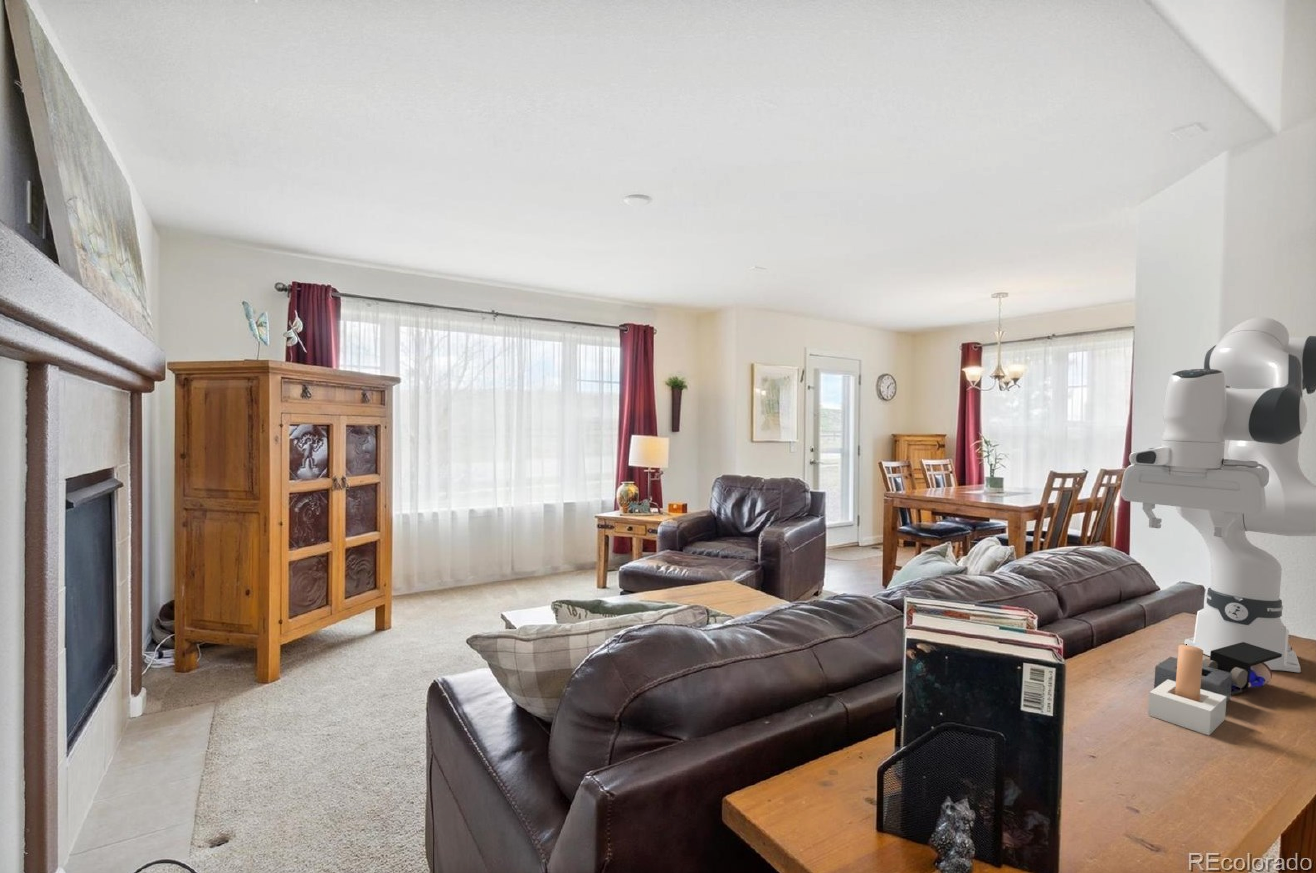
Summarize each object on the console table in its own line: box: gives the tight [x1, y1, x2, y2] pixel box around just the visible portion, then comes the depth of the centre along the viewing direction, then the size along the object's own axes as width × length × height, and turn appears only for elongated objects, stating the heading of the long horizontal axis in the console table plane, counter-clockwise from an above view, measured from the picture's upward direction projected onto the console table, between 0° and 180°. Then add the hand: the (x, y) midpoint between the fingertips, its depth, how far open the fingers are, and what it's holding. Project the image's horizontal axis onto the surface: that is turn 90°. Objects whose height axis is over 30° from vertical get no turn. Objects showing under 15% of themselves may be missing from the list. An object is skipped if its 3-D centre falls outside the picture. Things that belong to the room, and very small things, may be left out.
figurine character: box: [1202, 642, 1282, 695], centre depth 119 cm, size 7×8×15 cm
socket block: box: [1147, 680, 1227, 736], centre depth 106 cm, size 10×8×4 cm
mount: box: [1153, 656, 1232, 705], centre depth 114 cm, size 9×9×5 cm
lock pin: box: [1175, 644, 1204, 702], centre depth 106 cm, size 3×3×12 cm
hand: (1186, 532), depth 114 cm, fingers open, 8 cm apart
